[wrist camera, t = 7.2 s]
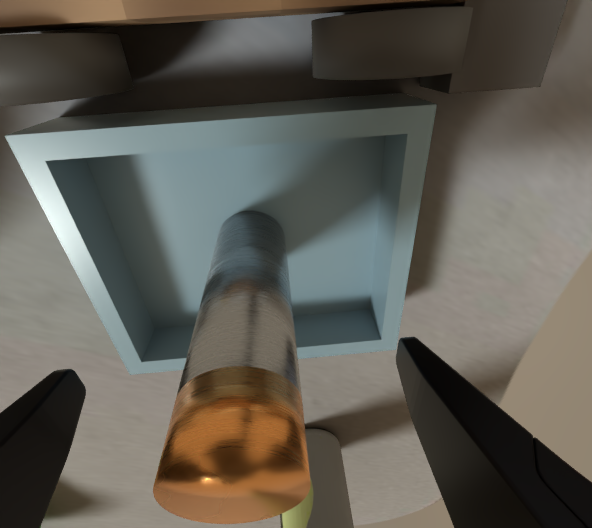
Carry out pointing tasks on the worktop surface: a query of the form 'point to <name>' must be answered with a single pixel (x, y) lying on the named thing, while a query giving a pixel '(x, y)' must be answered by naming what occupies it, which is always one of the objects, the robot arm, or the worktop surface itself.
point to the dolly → (325, 42)
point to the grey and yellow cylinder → (322, 487)
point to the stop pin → (239, 389)
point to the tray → (230, 200)
